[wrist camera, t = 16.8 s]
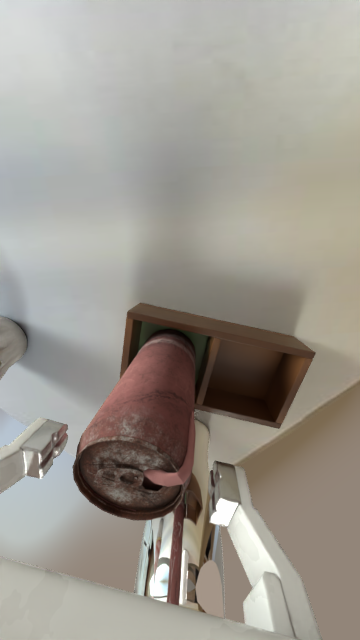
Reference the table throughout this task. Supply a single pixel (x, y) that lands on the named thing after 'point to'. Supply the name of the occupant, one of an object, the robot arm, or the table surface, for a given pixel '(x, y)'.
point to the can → (143, 434)
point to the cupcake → (10, 344)
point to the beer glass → (185, 546)
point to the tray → (229, 363)
